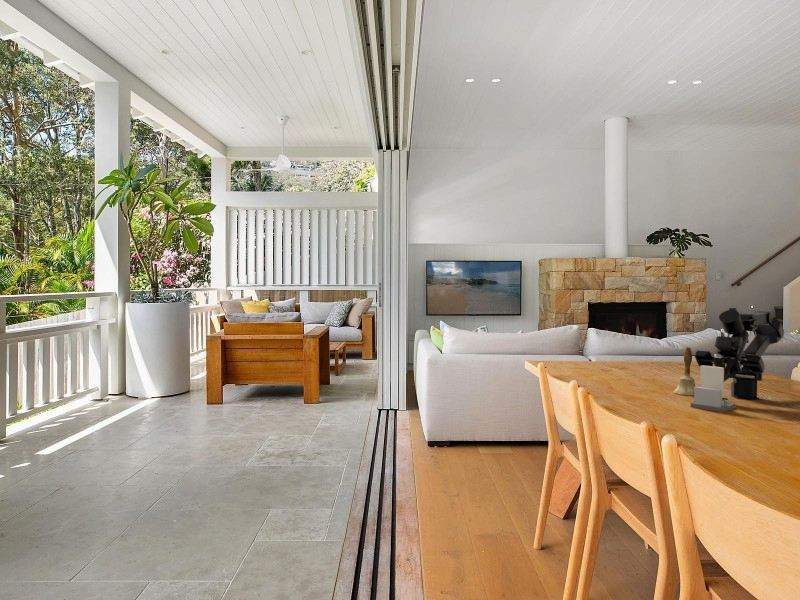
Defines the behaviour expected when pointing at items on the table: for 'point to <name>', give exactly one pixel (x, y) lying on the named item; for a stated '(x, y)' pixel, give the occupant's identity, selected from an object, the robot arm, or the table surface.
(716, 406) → the gauge base
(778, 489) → the table surface
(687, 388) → the hand bell
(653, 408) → the table surface
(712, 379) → the cream block
